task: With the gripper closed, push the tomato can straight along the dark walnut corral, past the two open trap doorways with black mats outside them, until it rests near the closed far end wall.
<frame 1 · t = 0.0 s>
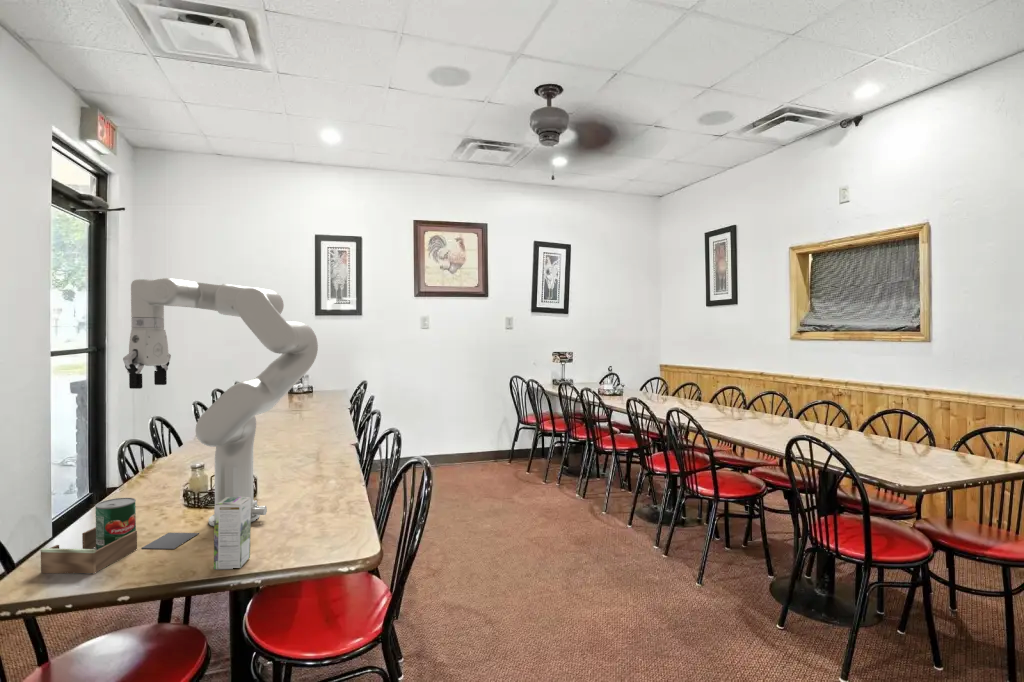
hand: (148, 386, 151), 37 cm above the table, tool pointing down, fingers open, 9 cm apart
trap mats: (234, 519, 151), on the table
canned tomato: (116, 548, 132), on the table
syrup box: (232, 565, 123), on the table
corral: (106, 552, 129), on the table
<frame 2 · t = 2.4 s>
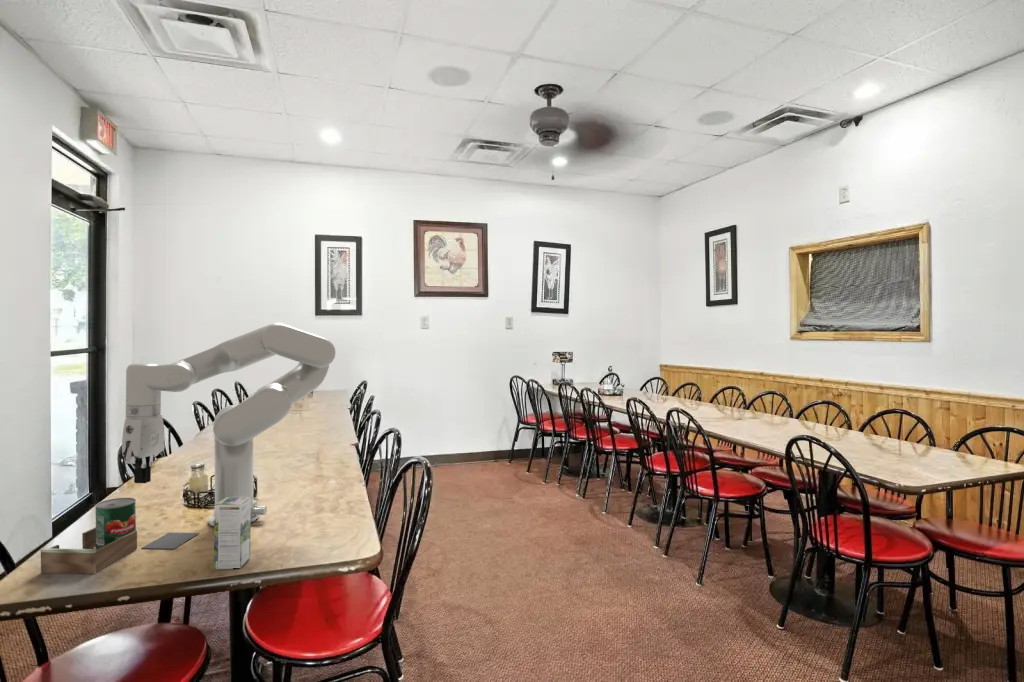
hand: (142, 482, 142), 13 cm above the table, tool pointing down, fingers closed
nothing on the table moved.
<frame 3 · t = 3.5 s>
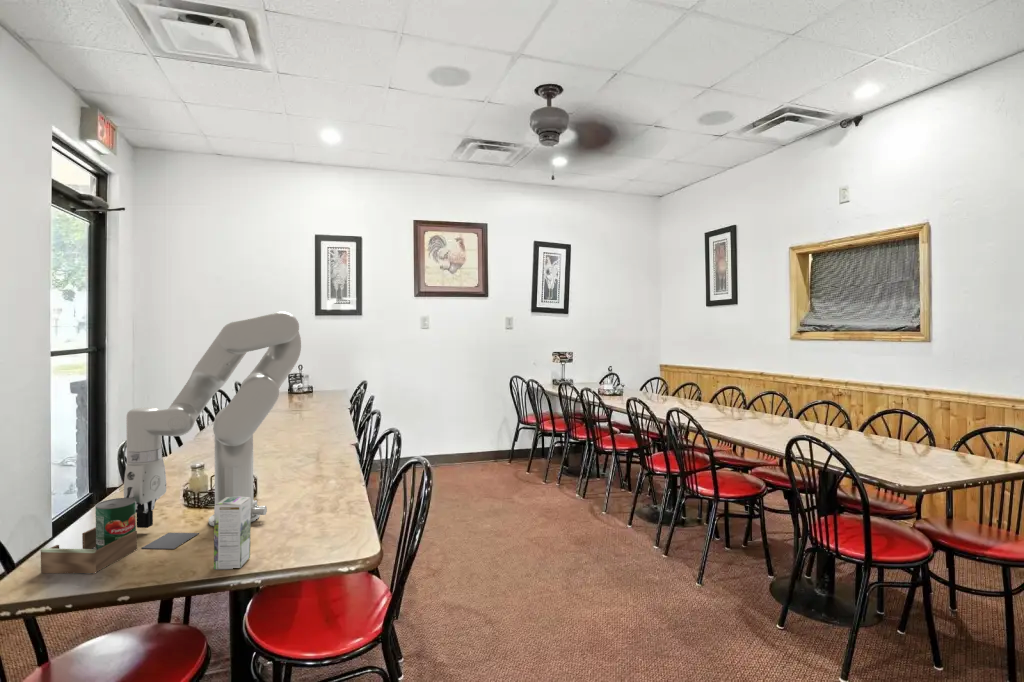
hand: (144, 526, 142), 2 cm above the table, tool pointing down, fingers closed
nothing on the table moved.
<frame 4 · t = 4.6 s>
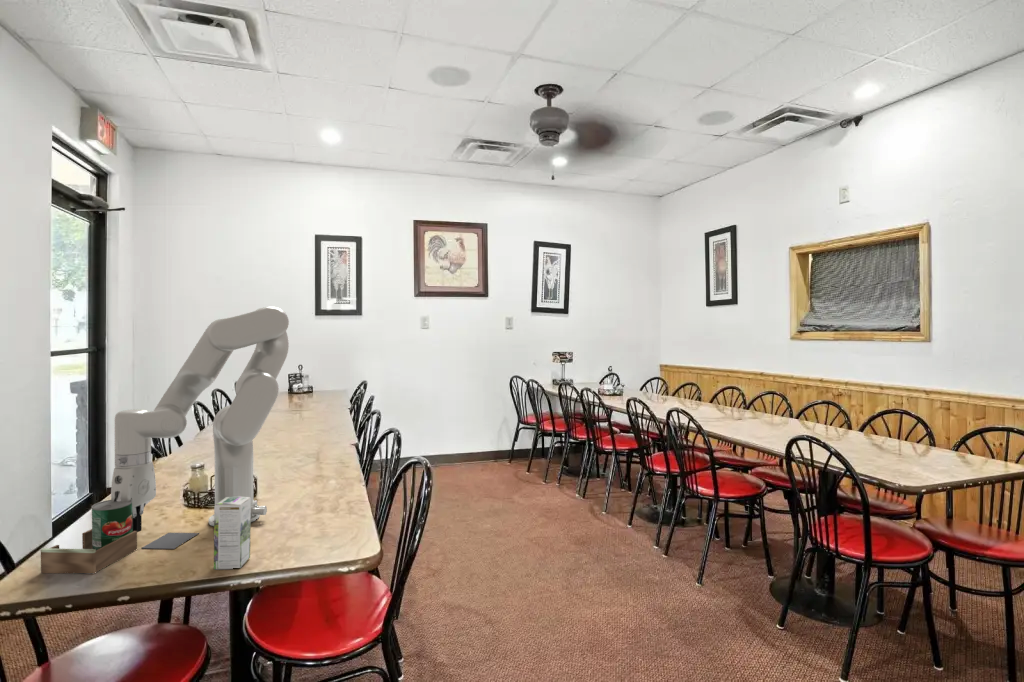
hand: (133, 531, 138), 2 cm above the table, tool pointing down, fingers closed
canned tomato: (113, 549, 131), on the table, touching gripper
everything else where it was.
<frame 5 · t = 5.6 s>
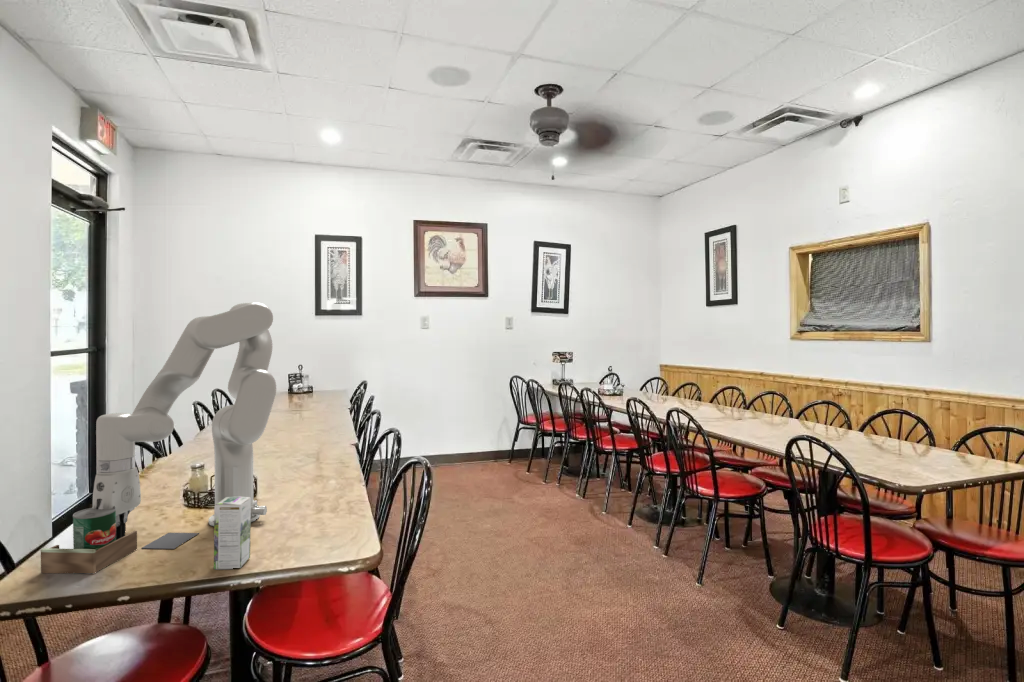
hand: (116, 540, 132), 2 cm above the table, tool pointing down, fingers closed
canned tomato: (95, 560, 125), on the table, touching gripper
everything else where it was.
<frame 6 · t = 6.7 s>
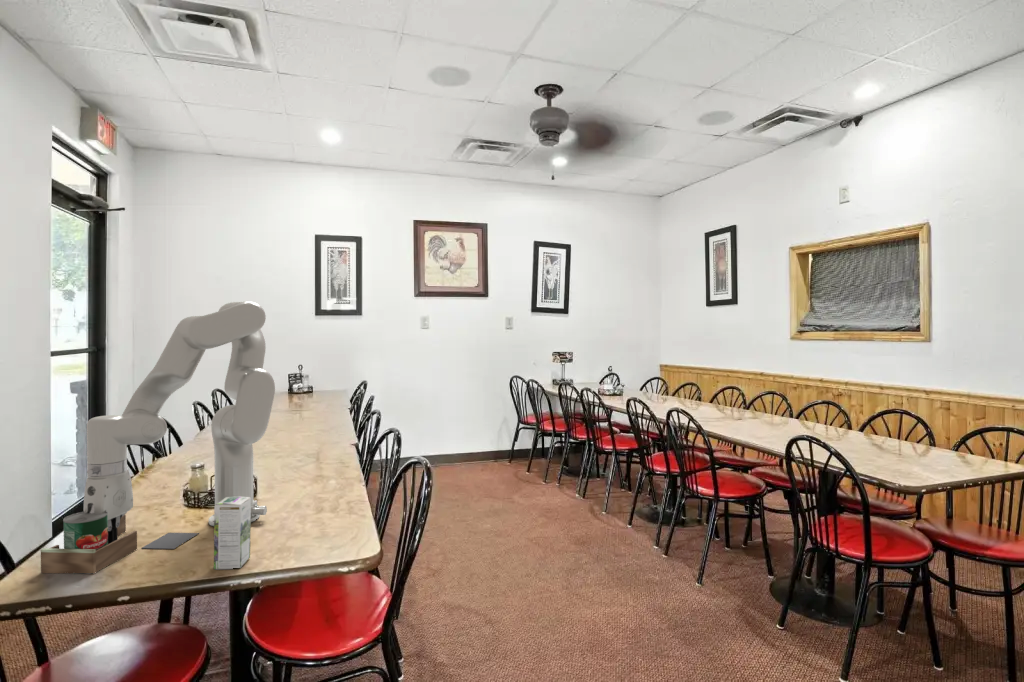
hand: (108, 545, 130), 1 cm above the table, tool pointing down, fingers closed
canned tomato: (86, 565, 123), on the table, touching gripper
everything else where it was.
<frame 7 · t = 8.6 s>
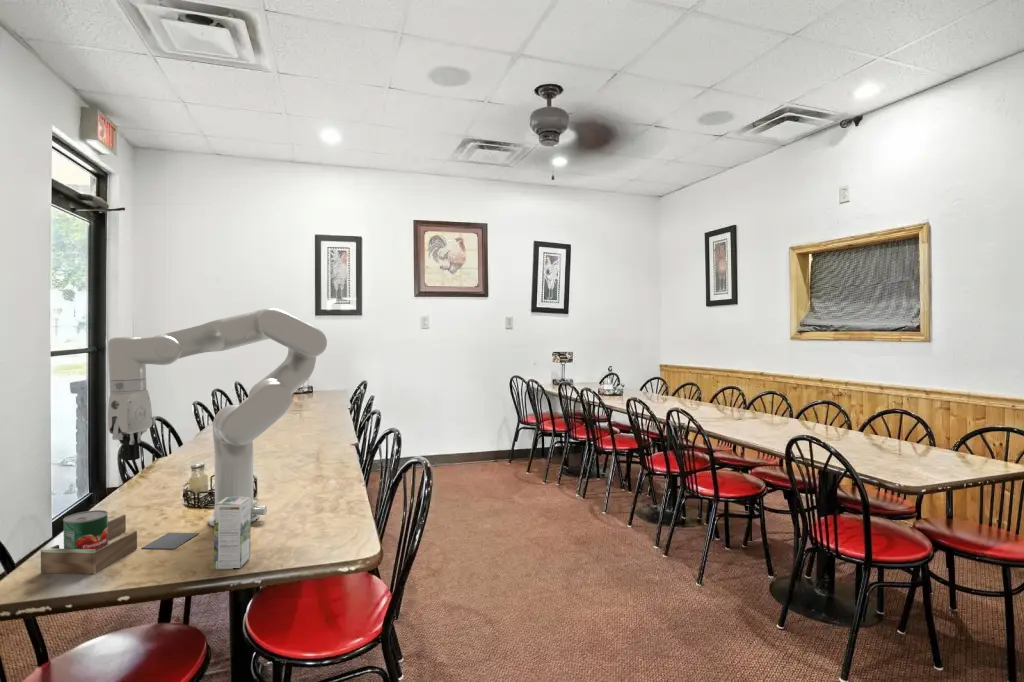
hand: (131, 459, 137), 20 cm above the table, tool pointing down, fingers closed
canned tomato: (86, 565, 123), on the table
everything else where it was.
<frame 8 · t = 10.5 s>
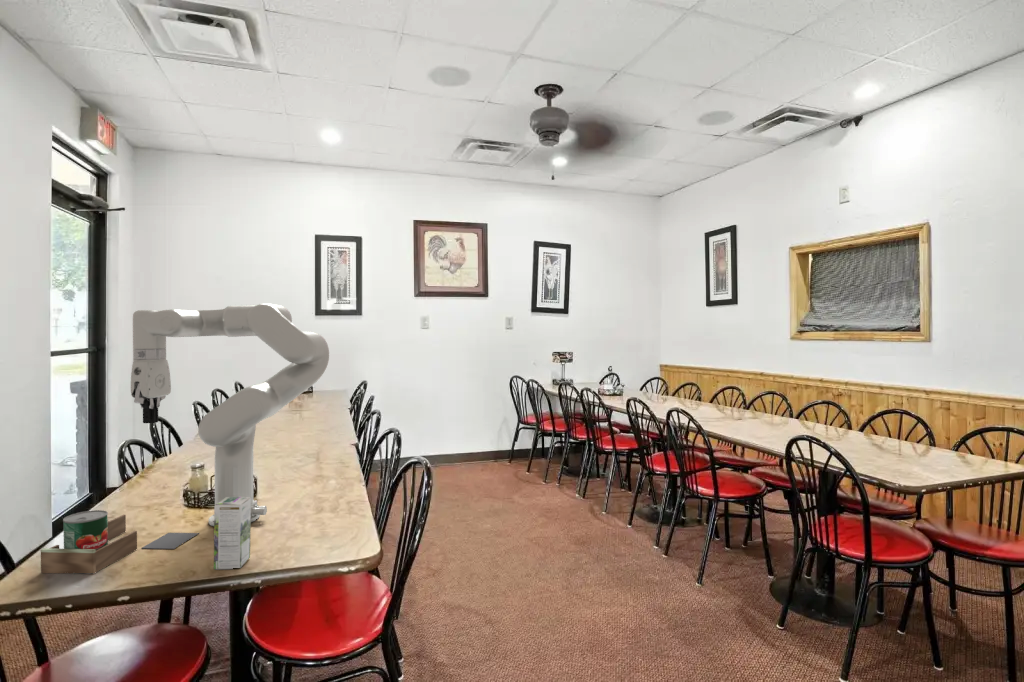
hand: (150, 422, 150), 27 cm above the table, tool pointing down, fingers closed
nothing on the table moved.
at the end: canned tomato inside the target area (0.9 cm from its centre), on the table; canned tomato tilted 0°; canned tomato moved 9.5 cm from its start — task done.
